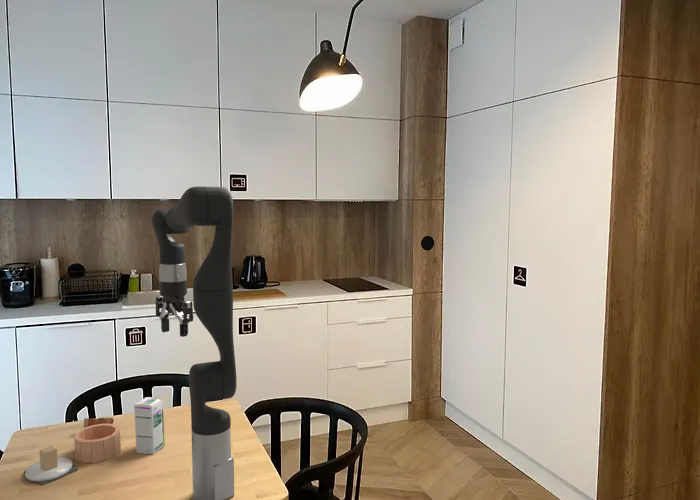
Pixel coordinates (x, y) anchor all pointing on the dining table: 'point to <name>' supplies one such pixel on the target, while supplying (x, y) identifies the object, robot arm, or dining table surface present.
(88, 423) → the fruit slice
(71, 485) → the dining table surface
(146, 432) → the syrup box
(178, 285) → the robot arm
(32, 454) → the dining table surface
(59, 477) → the mat
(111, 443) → the bowl
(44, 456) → the lid
